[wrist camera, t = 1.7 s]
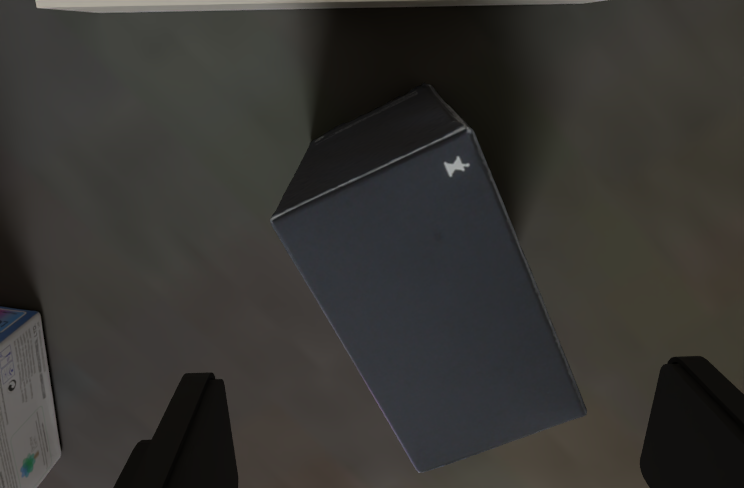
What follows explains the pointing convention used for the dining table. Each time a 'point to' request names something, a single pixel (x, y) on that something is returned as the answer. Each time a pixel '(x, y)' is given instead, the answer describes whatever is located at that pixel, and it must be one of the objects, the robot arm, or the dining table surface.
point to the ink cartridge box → (25, 402)
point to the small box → (426, 281)
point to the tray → (267, 4)
